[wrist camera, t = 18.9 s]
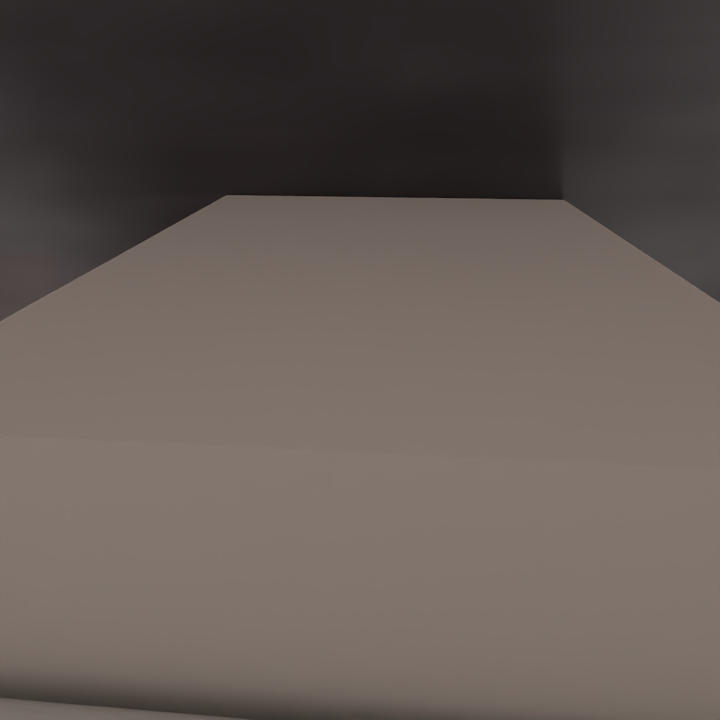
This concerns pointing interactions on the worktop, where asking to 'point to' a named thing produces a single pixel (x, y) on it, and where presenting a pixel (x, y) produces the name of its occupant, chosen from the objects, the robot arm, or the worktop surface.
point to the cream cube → (365, 470)
